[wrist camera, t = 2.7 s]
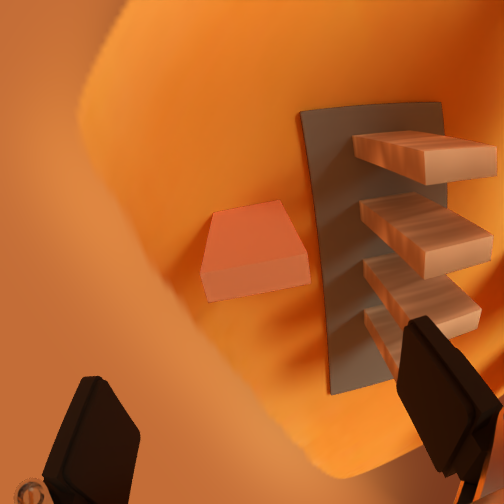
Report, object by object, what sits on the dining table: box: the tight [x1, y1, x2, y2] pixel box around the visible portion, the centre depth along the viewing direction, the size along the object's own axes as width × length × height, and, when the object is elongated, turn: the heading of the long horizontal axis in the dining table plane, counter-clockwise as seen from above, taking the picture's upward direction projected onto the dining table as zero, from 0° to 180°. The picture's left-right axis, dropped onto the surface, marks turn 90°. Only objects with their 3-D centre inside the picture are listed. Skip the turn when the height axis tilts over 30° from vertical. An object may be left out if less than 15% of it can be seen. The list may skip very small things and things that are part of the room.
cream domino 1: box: [364, 304, 403, 383], centre depth 23 cm, size 2×5×10 cm, turn 101°
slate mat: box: [300, 102, 447, 395], centre depth 27 cm, size 28×12×1 cm, turn 11°
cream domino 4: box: [363, 252, 482, 340], centre depth 21 cm, size 2×5×10 cm, turn 101°
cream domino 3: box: [359, 192, 494, 280], centre depth 19 cm, size 2×5×10 cm, turn 101°
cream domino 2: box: [352, 130, 497, 185], centre depth 17 cm, size 2×5×10 cm, turn 101°
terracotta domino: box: [200, 200, 311, 303], centre depth 20 cm, size 2×5×10 cm, turn 100°
